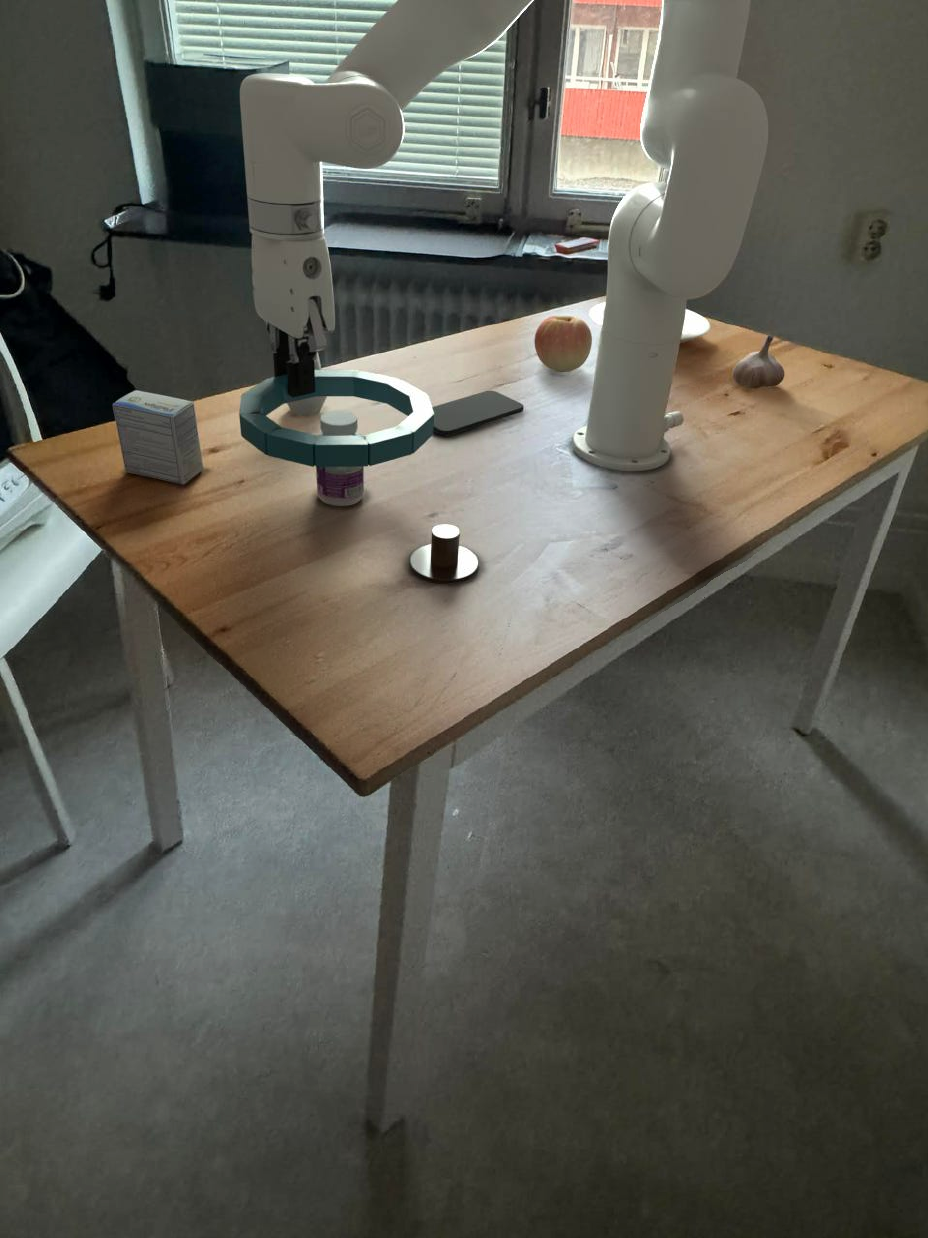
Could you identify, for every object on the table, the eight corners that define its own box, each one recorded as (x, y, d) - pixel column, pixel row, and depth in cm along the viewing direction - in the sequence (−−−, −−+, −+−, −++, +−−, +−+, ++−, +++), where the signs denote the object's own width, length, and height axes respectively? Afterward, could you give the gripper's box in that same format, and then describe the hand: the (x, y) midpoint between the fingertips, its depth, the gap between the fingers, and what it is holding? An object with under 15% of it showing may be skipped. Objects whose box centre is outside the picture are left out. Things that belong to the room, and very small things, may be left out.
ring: (363, 377, 107) (363, 358, 106) (468, 438, 95) (470, 417, 94) (209, 411, 97) (206, 390, 95) (304, 485, 84) (303, 462, 83)
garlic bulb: (785, 384, 139) (800, 333, 134) (772, 398, 133) (786, 346, 129) (738, 372, 142) (751, 322, 137) (723, 386, 136) (736, 334, 132)
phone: (409, 413, 119) (491, 388, 127) (409, 419, 119) (490, 394, 128) (445, 432, 115) (527, 405, 123) (445, 438, 115) (526, 411, 123)
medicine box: (204, 470, 104) (195, 400, 99) (183, 486, 101) (172, 415, 96) (147, 457, 106) (135, 388, 101) (124, 473, 103) (110, 402, 97)
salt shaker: (318, 421, 117) (314, 323, 109) (277, 415, 118) (270, 317, 110) (332, 405, 122) (330, 309, 114) (293, 399, 123) (287, 304, 115)
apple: (551, 381, 134) (557, 328, 129) (521, 361, 140) (526, 310, 135) (598, 374, 137) (606, 323, 132) (567, 355, 143) (574, 305, 139)
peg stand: (449, 540, 95) (451, 507, 92) (492, 570, 90) (495, 536, 88) (396, 559, 91) (396, 525, 89) (437, 591, 87) (439, 557, 84)
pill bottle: (318, 485, 103) (315, 406, 97) (364, 485, 103) (363, 407, 98) (316, 507, 99) (312, 426, 93) (364, 508, 99) (363, 427, 93)
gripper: (360, 230, 87) (361, 407, 98) (279, 197, 97) (289, 362, 108) (293, 238, 83) (302, 421, 94) (216, 203, 93) (232, 373, 104)
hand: (295, 388), depth 101 cm, fingers closed on ring, 2 cm apart
